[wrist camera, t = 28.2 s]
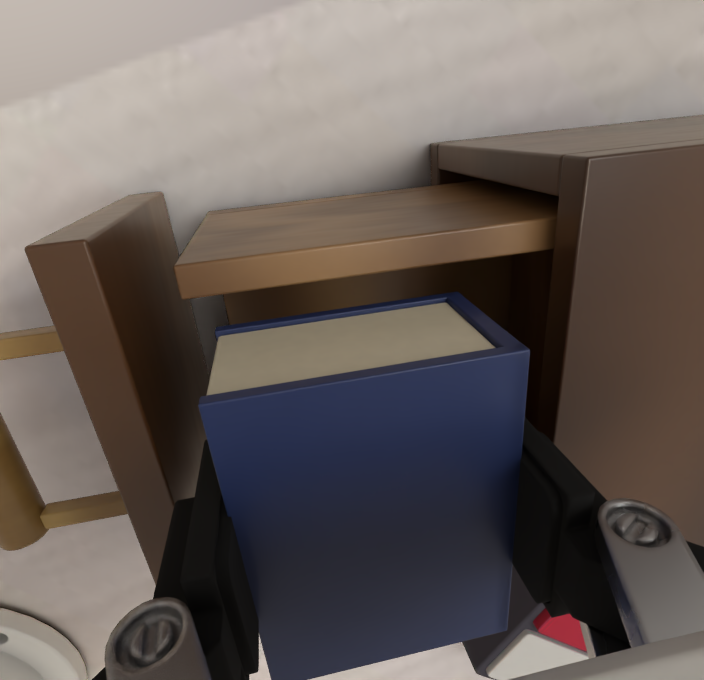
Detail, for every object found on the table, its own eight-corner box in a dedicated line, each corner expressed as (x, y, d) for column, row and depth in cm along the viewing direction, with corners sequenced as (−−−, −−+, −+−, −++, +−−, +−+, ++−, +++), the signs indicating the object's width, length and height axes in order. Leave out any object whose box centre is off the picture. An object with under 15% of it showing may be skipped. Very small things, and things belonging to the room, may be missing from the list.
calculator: (767, 562, 27) (594, 724, 30) (702, 511, 31) (554, 658, 34) (668, 494, 23) (478, 688, 26) (608, 445, 27) (448, 618, 30)
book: (455, 526, 15) (507, 631, 12) (270, 566, 14) (273, 688, 11) (458, 290, 11) (531, 349, 8) (215, 326, 11) (197, 405, 8)
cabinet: (433, 425, 24) (534, 599, 15) (429, 143, 18) (587, 157, 9) (709, 375, 26) (943, 504, 17) (784, 106, 20) (1194, 88, 11)
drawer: (81, 491, 21) (-14, 680, 14) (-41, 213, 15) (-296, 285, 8) (505, 414, 23) (613, 541, 16) (522, 151, 18) (693, 166, 11)
